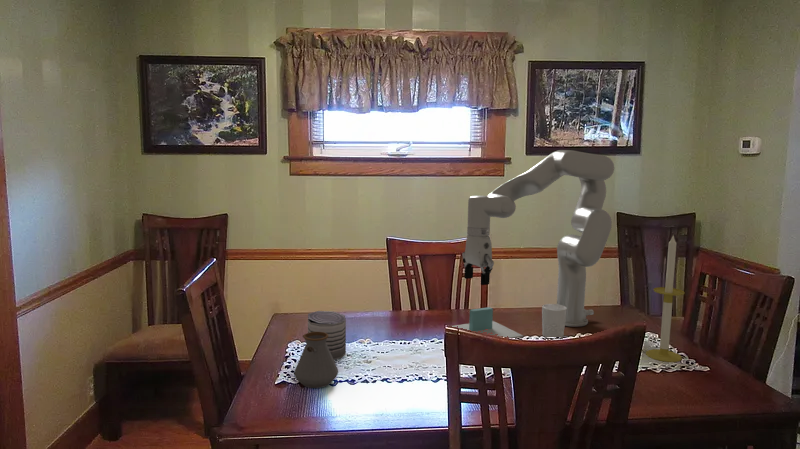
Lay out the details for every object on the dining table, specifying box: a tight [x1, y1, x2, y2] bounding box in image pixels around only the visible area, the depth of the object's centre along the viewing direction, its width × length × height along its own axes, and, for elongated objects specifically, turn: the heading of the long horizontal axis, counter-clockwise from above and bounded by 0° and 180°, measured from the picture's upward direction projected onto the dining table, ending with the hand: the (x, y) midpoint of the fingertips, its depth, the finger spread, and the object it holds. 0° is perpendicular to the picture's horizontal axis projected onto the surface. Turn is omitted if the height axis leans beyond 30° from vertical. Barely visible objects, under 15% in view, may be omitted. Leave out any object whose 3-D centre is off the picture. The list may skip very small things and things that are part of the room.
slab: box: [468, 306, 494, 331], centre depth 196 cm, size 8×2×7 cm, turn 115°
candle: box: [645, 235, 685, 363], centre depth 172 cm, size 10×10×38 cm
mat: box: [451, 320, 524, 339], centre depth 194 cm, size 19×18×1 cm
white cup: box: [541, 303, 567, 340], centre depth 191 cm, size 8×8×10 cm
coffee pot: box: [293, 332, 339, 389], centre depth 147 cm, size 21×12×15 cm, turn 1°
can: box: [307, 310, 347, 361], centre depth 172 cm, size 11×11×12 cm
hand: (476, 281), depth 197 cm, fingers open, 9 cm apart
